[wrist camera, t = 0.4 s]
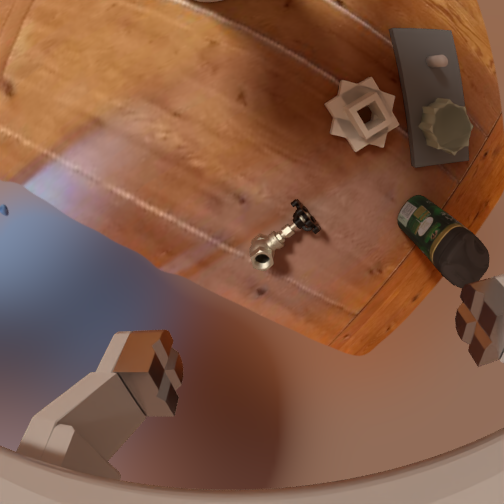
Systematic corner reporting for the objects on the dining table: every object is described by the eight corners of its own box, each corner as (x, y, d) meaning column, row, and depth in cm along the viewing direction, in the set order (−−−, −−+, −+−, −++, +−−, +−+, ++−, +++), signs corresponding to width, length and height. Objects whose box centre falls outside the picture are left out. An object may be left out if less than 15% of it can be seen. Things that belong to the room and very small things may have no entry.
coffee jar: (445, 214, 53) (501, 261, 36) (421, 246, 56) (469, 301, 39) (414, 185, 51) (471, 227, 34) (389, 220, 54) (435, 273, 37)
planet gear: (307, 100, 45) (312, 100, 41) (371, 62, 41) (382, 59, 37) (349, 165, 50) (358, 172, 45) (409, 128, 46) (422, 132, 42)
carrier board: (388, 29, 38) (402, 23, 33) (447, 31, 37) (463, 28, 32) (411, 165, 49) (425, 173, 44) (464, 158, 48) (481, 165, 43)
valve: (265, 262, 58) (317, 221, 54) (266, 282, 52) (324, 237, 49) (240, 237, 56) (293, 193, 52) (238, 255, 50) (297, 206, 46)
